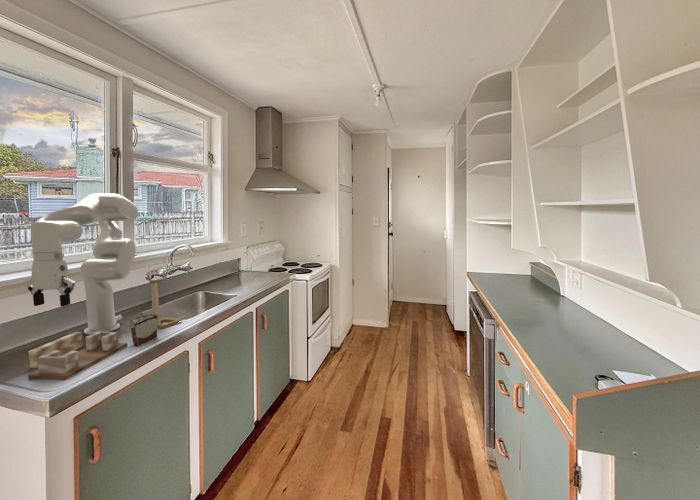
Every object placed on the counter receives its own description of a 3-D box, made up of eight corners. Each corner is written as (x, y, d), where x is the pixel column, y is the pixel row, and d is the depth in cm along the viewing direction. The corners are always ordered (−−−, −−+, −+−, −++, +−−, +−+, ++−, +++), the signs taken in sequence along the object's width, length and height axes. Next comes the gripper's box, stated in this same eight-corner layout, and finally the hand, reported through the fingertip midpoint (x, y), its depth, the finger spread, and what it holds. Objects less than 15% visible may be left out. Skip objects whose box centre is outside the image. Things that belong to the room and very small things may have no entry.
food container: (147, 335, 137) (145, 312, 136) (159, 336, 136) (158, 313, 135) (121, 347, 125) (119, 321, 124) (134, 348, 124) (133, 323, 123)
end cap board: (97, 345, 126) (95, 330, 126) (127, 346, 126) (125, 330, 125) (28, 378, 101) (26, 359, 100) (65, 379, 100) (63, 360, 99)
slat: (76, 346, 126) (75, 331, 125) (82, 346, 126) (81, 331, 125) (30, 368, 108) (28, 351, 107) (37, 368, 108) (35, 351, 107)
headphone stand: (182, 321, 155) (179, 276, 153) (164, 329, 144) (161, 280, 142) (163, 320, 157) (161, 275, 155) (144, 327, 147) (141, 279, 144)
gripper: (81, 255, 116) (85, 302, 118) (35, 255, 117) (39, 302, 119) (61, 258, 109) (65, 308, 110) (13, 258, 110) (17, 307, 111)
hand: (52, 305), depth 115 cm, fingers open, 9 cm apart
